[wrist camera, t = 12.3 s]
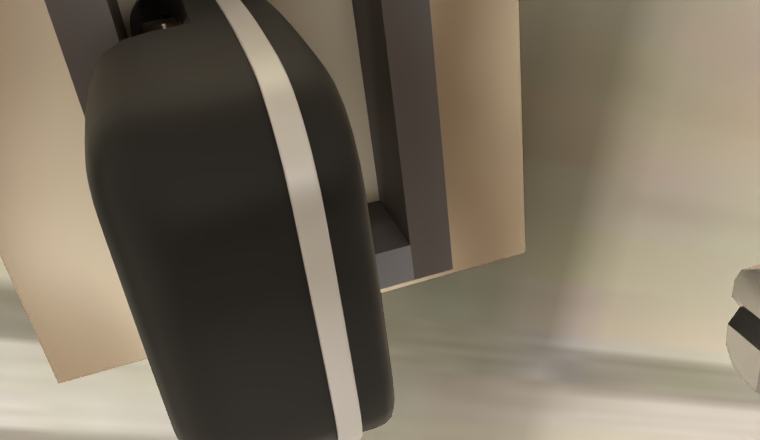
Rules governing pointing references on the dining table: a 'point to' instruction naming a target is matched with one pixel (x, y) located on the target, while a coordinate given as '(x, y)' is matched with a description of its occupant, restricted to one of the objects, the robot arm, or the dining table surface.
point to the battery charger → (239, 224)
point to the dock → (367, 119)
